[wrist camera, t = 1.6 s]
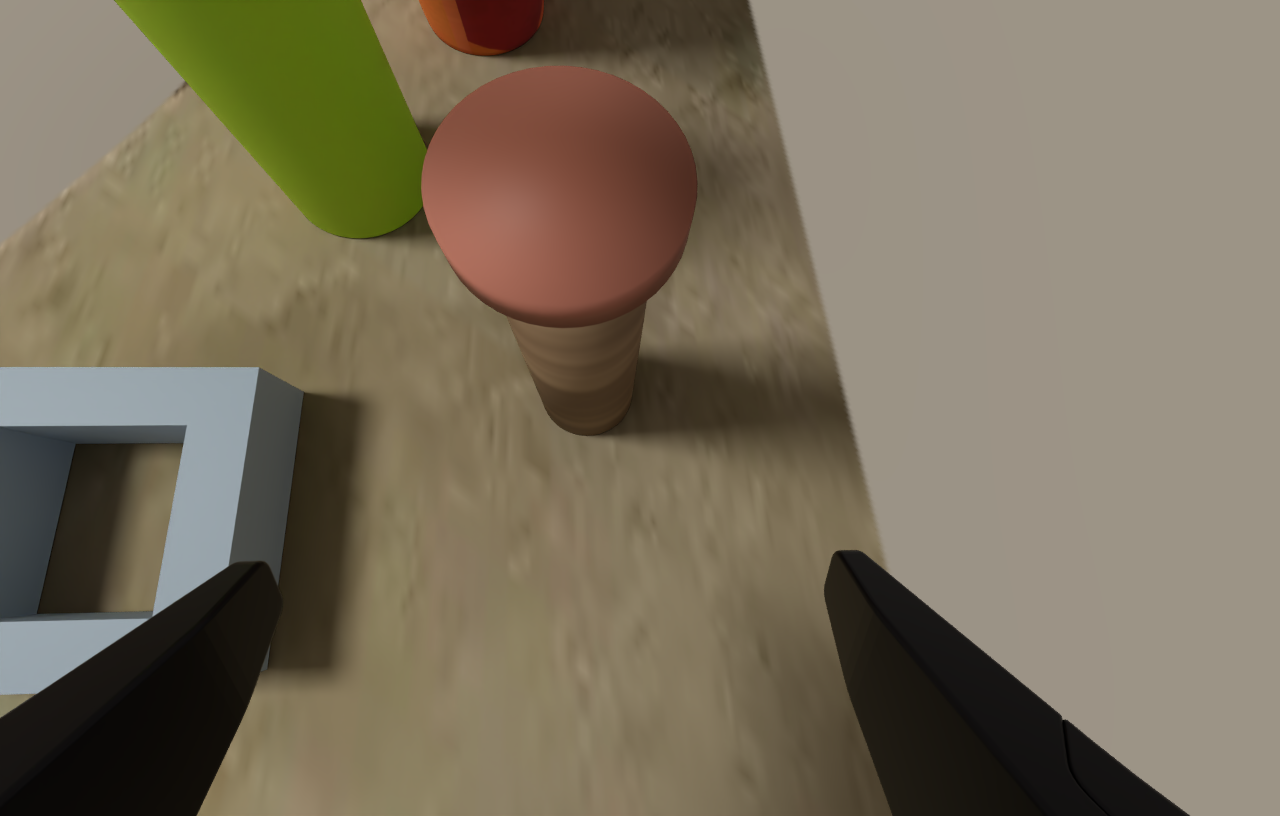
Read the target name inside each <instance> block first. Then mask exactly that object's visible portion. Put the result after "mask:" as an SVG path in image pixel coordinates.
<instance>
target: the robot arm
mask: <svg viewBox="0 0 1280 816" xmlns="http://www.w3.org/2000/svg"><path fill="white" fill-rule="evenodd" d="M824 596H825V602H826V606H827V610H828V614H829V618H830V622H831V626H832V631H833V635H834V639H835V643H836V647H837V651H838V655H839V659H840V663H841V667H842V671H843V675H844V679H845V683H846V686H847V690H848V693H849V696H850V699H851V702H852V705H853V708H854V710H855V713H856V716H857V719H858V721H859V724H860V727H861V730H862V732H863V735H864V738H865V741H866V743H867V746H868V749H869V752H870V755H871V757H872V760H873V763H874V766H875V768H876V771H877V774H878V777H879V779H880V782H881V785H882V788H883V790H884V793H885V796H886V799H887V801H888V804H889V807H890V810H891V813H892V815H893V816H1190V815H1188V814H1187V813H1186V812H1184V811H1183V810H1182V809H1180V808H1179V807H1178V806H1176V805H1175V804H1174V803H1172V802H1171V801H1170V800H1168V799H1167V798H1166V797H1164V796H1163V795H1162V794H1160V793H1159V792H1158V791H1156V790H1155V789H1153V788H1152V787H1151V786H1150V785H1148V784H1147V783H1146V782H1144V781H1143V780H1142V779H1140V778H1139V777H1137V776H1136V775H1135V774H1134V773H1132V772H1131V771H1130V770H1129V769H1127V768H1126V767H1125V766H1123V765H1122V764H1121V763H1120V762H1119V761H1117V760H1116V759H1115V758H1114V757H1112V756H1111V755H1110V754H1109V753H1107V752H1106V751H1105V750H1104V749H1102V748H1101V747H1100V746H1098V745H1097V744H1096V743H1095V742H1093V741H1092V740H1091V739H1090V738H1088V737H1087V736H1086V735H1085V734H1084V733H1083V732H1081V731H1080V730H1079V729H1078V728H1076V727H1075V726H1074V725H1073V724H1072V723H1070V722H1069V721H1068V720H1062V716H1061V715H1060V714H1059V713H1058V712H1057V711H1055V710H1054V709H1053V708H1052V707H1051V706H1049V705H1048V704H1047V703H1046V702H1044V701H1043V700H1042V699H1041V698H1040V697H1038V696H1037V695H1036V694H1035V693H1034V692H1032V691H1031V690H1030V689H1029V688H1027V687H1026V686H1025V685H1024V684H1022V683H1021V682H1020V681H1019V680H1018V679H1017V678H1015V677H1014V676H1013V675H1012V674H1010V673H1009V672H1008V671H1007V670H1006V669H1004V668H1003V667H1002V666H1001V665H1000V664H998V663H997V662H996V661H995V660H993V659H992V658H991V657H990V656H988V655H987V654H986V653H985V652H984V651H982V650H981V649H980V648H979V647H978V646H976V645H975V644H974V643H973V642H972V641H970V640H969V639H968V638H966V637H965V636H964V635H963V634H962V633H961V632H959V631H958V630H957V629H956V628H954V627H953V626H952V625H951V624H949V623H948V622H947V621H946V620H945V619H944V618H942V617H941V616H940V615H938V614H937V613H936V612H935V611H934V610H932V609H931V608H930V607H929V606H928V605H926V604H925V603H924V602H923V601H922V600H920V599H919V598H918V597H917V596H915V595H914V594H913V593H912V592H911V591H909V590H908V589H907V588H906V587H905V586H903V585H902V584H901V583H900V582H898V581H897V580H896V579H895V578H894V577H892V576H891V575H890V574H889V573H888V572H886V571H885V570H884V569H883V568H881V567H880V566H879V565H878V564H877V563H875V562H874V561H873V560H872V559H871V558H869V557H868V556H867V555H866V554H864V553H863V552H861V551H858V550H839V551H836V552H835V553H834V554H833V556H832V559H831V563H830V566H829V570H828V574H827V578H826V581H825V586H824ZM282 607H283V598H282V594H281V592H280V590H279V587H278V585H277V582H276V580H275V578H274V575H273V573H272V570H271V568H270V566H269V564H267V563H266V562H265V561H238V562H235V563H233V564H231V565H229V566H228V567H226V568H225V569H223V570H222V571H220V572H219V573H217V574H216V575H214V576H213V577H211V578H210V579H208V580H207V581H205V582H204V583H202V584H201V585H199V586H198V587H196V588H195V589H193V590H192V591H190V592H189V593H187V594H186V595H184V596H183V597H181V598H180V599H178V600H177V601H175V602H174V603H172V604H171V605H169V606H168V607H166V608H165V609H163V610H162V611H160V612H159V613H157V614H156V615H154V616H153V617H151V618H150V619H148V620H147V621H145V622H144V623H142V624H141V625H139V626H138V627H136V628H135V629H133V630H132V631H130V632H129V633H127V634H126V635H124V636H123V637H121V638H120V639H118V640H117V641H115V642H114V643H112V644H111V645H109V646H108V647H106V648H105V649H103V650H102V651H100V652H99V653H97V654H96V655H94V656H93V657H91V658H90V659H88V660H87V661H85V662H84V663H82V664H81V665H79V666H78V667H76V668H75V669H73V670H72V671H70V672H69V673H67V674H66V675H64V676H63V677H61V678H60V679H58V680H57V681H55V682H54V683H52V684H51V685H49V686H48V687H46V688H45V689H43V690H42V691H40V692H39V693H37V694H36V695H34V696H32V697H31V698H29V699H28V700H26V701H25V702H23V703H22V704H20V705H19V706H17V707H16V708H14V709H13V710H11V711H10V712H8V713H7V714H5V715H4V716H2V717H1V718H0V816H197V814H198V812H199V810H200V808H201V805H202V803H203V801H204V799H205V797H206V795H207V793H208V791H209V789H210V786H211V784H212V782H213V780H214V778H215V776H216V774H217V772H218V769H219V767H220V765H221V763H222V761H223V759H224V757H225V755H226V753H227V750H228V748H229V746H230V744H231V742H232V740H233V738H234V736H235V734H236V731H237V729H238V727H239V725H240V723H241V721H242V718H243V716H244V714H245V712H246V709H247V707H248V704H249V702H250V699H251V697H252V694H253V692H254V689H255V686H256V683H257V680H258V677H259V675H260V672H261V669H262V666H263V663H264V660H265V658H266V655H267V652H268V649H269V646H270V644H271V641H272V638H273V635H274V632H275V629H276V627H277V624H278V621H279V618H280V615H281V612H282Z"/></svg>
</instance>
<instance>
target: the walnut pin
mask: <svg viewBox="0 0 1280 816" xmlns="http://www.w3.org/2000/svg"><path fill="white" fill-rule="evenodd" d="M421 192H422V199H423V206H424V210H425V214H426V217H427V220H428V223H429V225H430V227H431V230H432V232H433V234H434V236H435V238H436V240H437V242H438V244H439V245H440V247H441V249H442V251H443V253H444V255H445V257H446V258H447V260H448V262H449V264H450V266H451V268H452V269H453V270H454V272H455V273H456V275H457V276H458V278H459V279H460V281H461V282H462V283H463V284H464V285H465V286H466V287H467V288H468V290H469V291H470V292H471V293H473V294H474V295H475V296H476V297H477V298H478V299H480V300H481V301H482V302H483V303H485V304H486V305H488V306H489V307H491V308H493V309H494V310H496V311H497V312H499V313H502V314H504V315H506V316H507V319H508V321H509V323H510V326H511V328H512V331H513V333H514V335H515V338H516V340H517V343H518V345H519V347H520V350H521V352H522V354H523V357H524V359H525V362H526V364H527V366H528V369H529V371H530V373H531V376H532V378H533V381H534V383H535V385H536V388H537V390H538V393H539V395H540V397H541V400H542V402H543V404H544V407H545V409H546V411H547V413H548V415H549V416H550V418H551V419H552V420H553V421H554V422H555V423H556V424H557V425H558V426H559V427H561V428H562V429H564V430H566V431H568V432H570V433H573V434H577V435H585V436H589V435H597V434H601V433H604V432H606V431H608V430H610V429H612V428H613V427H615V426H616V425H617V424H618V423H619V422H620V421H621V420H622V419H623V418H624V416H625V415H626V413H627V411H628V409H629V407H630V404H631V400H632V394H633V387H634V381H635V374H636V368H637V361H638V355H639V348H640V341H641V335H642V328H643V322H644V315H645V309H646V302H647V300H648V299H649V298H651V297H652V296H653V295H654V294H656V293H657V291H658V290H659V289H660V288H661V287H662V286H663V285H664V284H665V283H666V282H667V280H668V279H669V277H670V276H671V275H672V273H673V272H674V270H675V269H676V267H677V265H678V263H679V261H680V259H681V257H682V254H683V252H684V249H685V246H686V243H687V239H688V235H689V231H690V227H691V223H692V219H693V215H694V210H695V205H696V199H697V174H696V166H695V162H694V158H693V155H692V151H691V149H690V146H689V144H688V142H687V139H686V137H685V135H684V134H683V132H682V130H681V129H680V127H679V126H678V124H677V122H676V121H675V120H674V119H673V118H672V116H671V115H670V114H669V113H668V111H667V110H666V109H665V108H664V107H663V106H661V105H660V104H659V103H658V102H657V101H656V100H655V99H654V98H652V97H651V96H650V95H648V94H647V93H646V92H644V91H643V90H641V89H640V88H638V87H636V86H634V85H633V84H631V83H629V82H627V81H625V80H623V79H620V78H618V77H616V76H614V75H610V74H607V73H604V72H601V71H597V70H593V69H587V68H582V67H573V66H544V67H536V68H529V69H525V70H521V71H517V72H513V73H510V74H507V75H505V76H502V77H499V78H497V79H495V80H493V81H491V82H489V83H487V84H485V85H483V86H481V87H480V88H478V89H477V90H475V91H474V92H472V93H471V94H469V95H468V96H467V97H465V98H464V99H463V100H462V101H461V102H460V103H458V104H457V105H456V106H455V107H454V108H453V109H452V110H451V112H450V113H449V114H448V115H447V116H446V117H445V118H444V120H443V121H442V123H441V124H440V126H439V127H438V129H437V130H436V132H435V134H434V136H433V138H432V140H431V142H430V144H429V147H428V150H427V153H426V156H425V159H424V164H423V170H422V182H421Z"/></svg>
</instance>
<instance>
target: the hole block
mask: <svg viewBox="0 0 1280 816" xmlns="http://www.w3.org/2000/svg"><path fill="white" fill-rule="evenodd" d="M303 394H304V392H303V391H301V390H299V389H298V388H296V387H294V386H292V385H290V384H288V383H287V382H285V381H283V380H281V379H279V378H277V377H276V376H274V375H272V374H270V373H268V372H266V371H265V370H263V369H261V368H259V367H0V695H3V694H37V693H39V692H40V691H42V690H43V689H45V688H46V687H48V686H49V685H51V684H52V683H54V682H55V681H57V680H58V679H60V678H61V677H63V676H64V675H66V674H67V673H69V672H70V671H72V670H73V669H75V668H76V667H78V666H79V665H81V664H82V663H84V662H85V661H87V660H88V659H90V658H91V657H93V656H94V655H96V654H97V653H99V652H100V651H102V650H103V649H105V648H106V647H108V646H109V645H111V644H112V643H114V642H115V641H117V640H118V639H120V638H121V637H123V636H124V635H126V634H127V633H129V632H130V631H132V630H133V629H135V628H136V627H138V626H139V625H141V624H142V623H144V622H145V621H147V620H148V619H150V618H151V617H153V616H154V615H156V614H157V613H159V612H160V611H162V610H163V609H165V608H166V607H168V606H169V605H171V604H172V603H174V602H175V601H177V600H178V599H180V598H181V597H183V596H184V595H186V594H187V593H189V592H190V591H192V590H193V589H195V588H196V587H198V586H199V585H201V584H202V583H204V582H205V581H207V580H208V579H210V578H211V577H213V576H214V575H216V574H217V573H219V572H220V571H222V570H223V569H225V568H226V567H228V566H229V565H231V564H233V563H235V562H238V561H265V562H266V563H267V564H269V566H270V568H271V570H272V573H273V575H274V578H275V580H276V582H277V585H278V583H279V576H280V568H281V560H282V553H283V545H284V538H285V530H286V522H287V515H288V507H289V500H290V492H291V485H292V477H293V469H294V462H295V454H296V447H297V439H298V432H299V424H300V416H301V409H302V401H303ZM117 443H184V445H183V450H182V456H181V461H180V467H179V472H178V478H177V483H176V489H175V494H174V500H173V505H172V511H171V516H170V522H169V527H168V533H167V538H166V544H165V550H164V555H163V561H162V566H161V572H160V577H159V583H158V588H157V594H156V599H155V605H154V610H153V611H143V612H98V613H53V614H37V610H38V606H39V602H40V597H41V593H42V589H43V584H44V580H45V575H46V571H47V567H48V562H49V558H50V554H51V549H52V545H53V540H54V536H55V532H56V527H57V523H58V518H59V514H60V510H61V505H62V501H63V497H64V492H65V488H66V483H67V479H68V475H69V470H70V466H71V462H72V457H73V453H74V448H75V444H117ZM269 651H270V646H269V649H268V652H267V655H266V658H265V660H264V663H263V666H262V669H261V671H264V670H267V666H268V659H269Z"/></svg>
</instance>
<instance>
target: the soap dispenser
mask: <svg viewBox="0 0 1280 816" xmlns="http://www.w3.org/2000/svg"><path fill="white" fill-rule="evenodd" d="M114 1H115V2H116V3H117V4H118V5H119V6H120V8H121V9H122V10H123V11H124V12H125V13H126V14H127V16H129V18H130V19H131V20H132V21H133V22H134V23H135V24H136V26H137V27H138V28H139V29H140V30H141V31H142V32H143V33H144V35H145V36H146V37H147V38H148V39H149V40H150V41H151V43H152V44H153V45H154V46H155V47H156V48H157V49H158V50H159V52H160V53H161V54H162V55H163V56H164V57H165V58H166V60H167V61H168V62H169V63H170V64H171V65H172V66H173V67H174V69H175V70H176V71H177V72H178V73H179V74H180V75H181V77H182V78H183V79H184V80H185V81H186V82H187V83H188V84H189V86H190V87H191V88H192V89H193V90H194V91H195V92H196V93H197V95H198V96H199V97H200V98H201V99H202V100H203V101H204V102H205V104H206V105H207V106H208V107H209V108H210V109H211V110H212V112H213V113H214V114H215V115H216V116H217V117H218V118H219V119H220V121H221V122H222V123H223V124H224V125H225V126H226V127H227V128H228V130H229V131H230V132H231V133H232V134H233V135H234V136H235V138H236V139H237V140H238V141H239V142H240V143H241V144H242V145H243V147H244V148H245V149H246V150H247V151H248V152H249V153H250V154H251V156H252V157H253V158H254V159H255V160H256V161H257V162H258V164H259V165H260V166H261V167H262V168H263V169H264V170H265V171H266V173H267V174H268V175H269V176H270V177H271V178H272V179H273V180H274V182H275V183H276V184H277V185H278V186H279V187H280V188H281V189H282V191H283V192H284V193H285V194H286V195H287V196H288V197H289V199H290V200H291V201H292V202H293V203H294V204H295V205H296V206H297V208H298V209H299V210H300V211H301V212H302V213H303V214H304V215H305V217H306V218H307V219H308V220H309V221H311V222H312V223H313V224H314V225H316V226H317V227H319V228H320V229H322V230H324V231H326V232H328V233H331V234H334V235H337V236H341V237H347V238H369V237H375V236H379V235H383V234H386V233H388V232H391V231H393V230H395V229H397V228H399V227H401V226H402V225H404V224H405V223H407V222H408V221H409V220H410V219H412V218H413V217H414V216H415V215H416V214H417V213H418V212H419V210H420V209H421V208H422V207H423V199H422V192H421V182H422V170H423V164H424V159H425V156H426V153H427V149H426V147H425V144H424V142H423V140H422V138H421V135H420V133H419V131H418V128H417V126H416V124H415V122H414V119H413V117H412V115H411V113H410V110H409V108H408V106H407V104H406V101H405V99H404V97H403V95H402V92H401V90H400V88H399V86H398V83H397V81H396V79H395V76H394V74H393V72H392V70H391V67H390V65H389V63H388V61H387V58H386V56H385V54H384V52H383V49H382V47H381V45H380V43H379V40H378V38H377V36H376V33H375V31H374V29H373V27H372V24H371V22H370V20H369V18H368V15H367V13H366V11H365V9H364V6H363V4H362V2H361V0H114Z"/></svg>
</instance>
